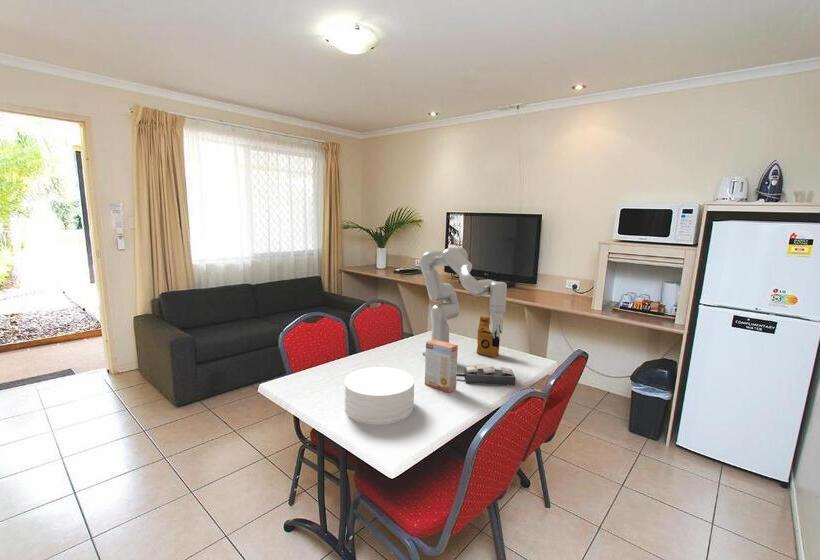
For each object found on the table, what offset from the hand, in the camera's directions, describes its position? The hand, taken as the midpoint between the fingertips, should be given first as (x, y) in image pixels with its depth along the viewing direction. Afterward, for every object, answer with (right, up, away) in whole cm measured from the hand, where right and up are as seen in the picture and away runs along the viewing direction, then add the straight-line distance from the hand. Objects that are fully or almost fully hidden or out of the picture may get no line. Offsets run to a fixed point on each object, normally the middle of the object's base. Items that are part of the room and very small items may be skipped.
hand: (495, 346), depth 182 cm
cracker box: (-27, -18, -6) cm, 33 cm away
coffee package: (+4, -12, +40) cm, 42 cm away
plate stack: (-53, -20, -26) cm, 62 cm away
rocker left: (-10, -13, +3) cm, 17 cm away
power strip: (-6, -17, +3) cm, 18 cm away
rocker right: (+6, -13, +2) cm, 15 cm away
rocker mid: (-2, -13, +2) cm, 13 cm away
